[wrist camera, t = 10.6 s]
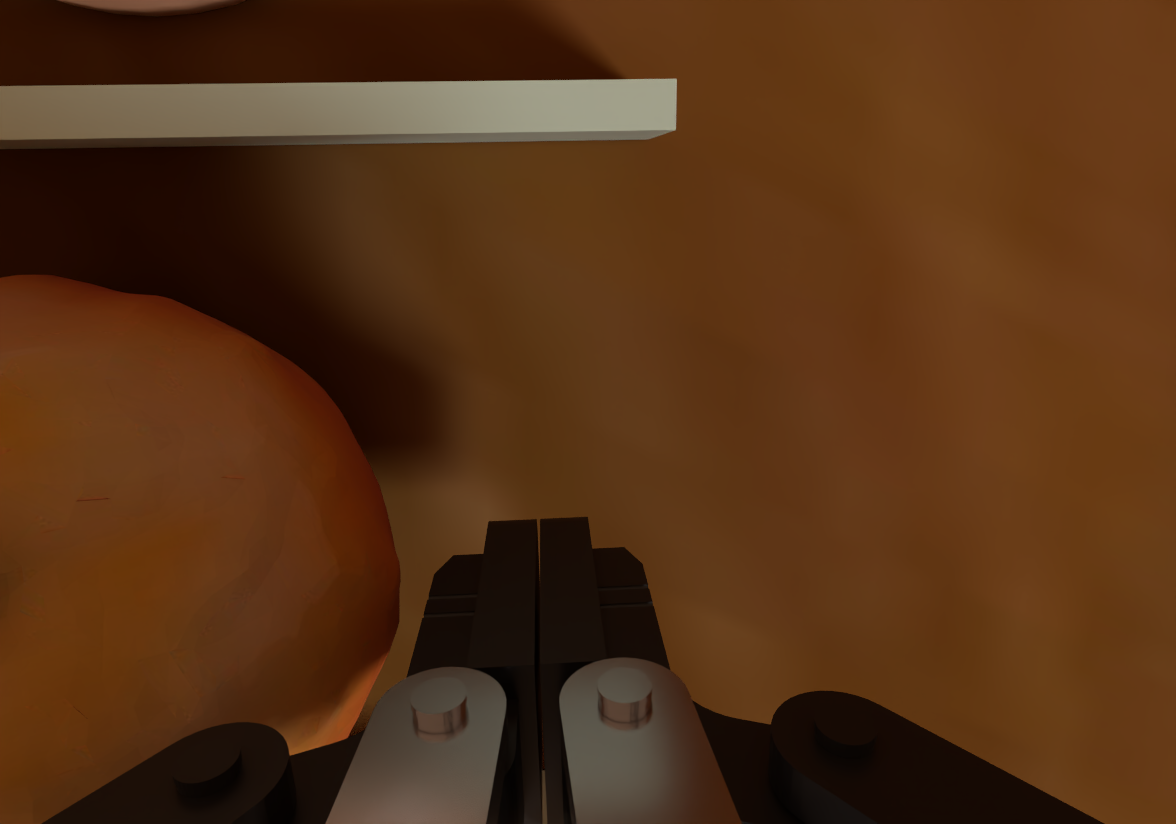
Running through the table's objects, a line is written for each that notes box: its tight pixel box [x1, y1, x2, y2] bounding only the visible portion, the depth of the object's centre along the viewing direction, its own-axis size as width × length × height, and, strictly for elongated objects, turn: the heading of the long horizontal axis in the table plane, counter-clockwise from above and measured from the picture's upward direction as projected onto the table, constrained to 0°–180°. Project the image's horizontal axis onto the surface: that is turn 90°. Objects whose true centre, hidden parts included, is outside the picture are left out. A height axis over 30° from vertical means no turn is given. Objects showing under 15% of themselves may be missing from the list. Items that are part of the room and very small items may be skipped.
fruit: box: [0, 275, 400, 824], centre depth 10 cm, size 8×8×8 cm
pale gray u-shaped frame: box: [0, 79, 677, 824], centre depth 12 cm, size 14×14×2 cm
